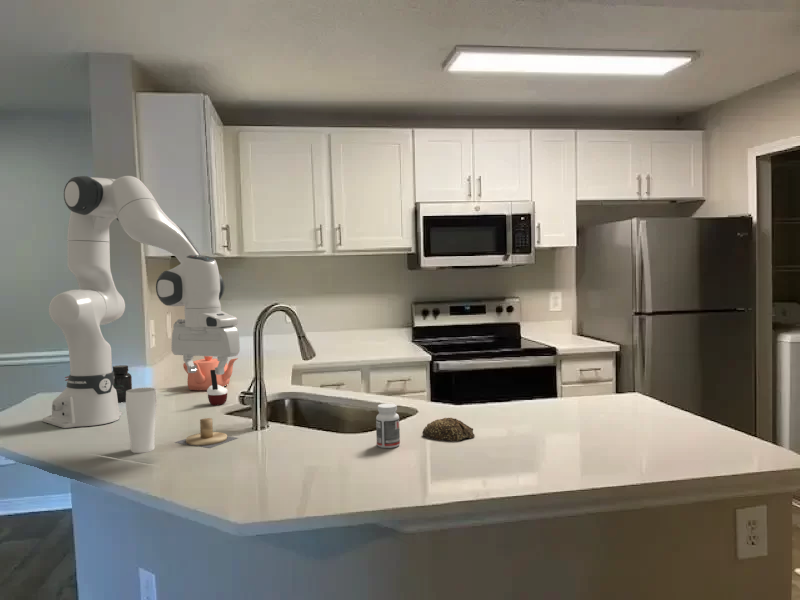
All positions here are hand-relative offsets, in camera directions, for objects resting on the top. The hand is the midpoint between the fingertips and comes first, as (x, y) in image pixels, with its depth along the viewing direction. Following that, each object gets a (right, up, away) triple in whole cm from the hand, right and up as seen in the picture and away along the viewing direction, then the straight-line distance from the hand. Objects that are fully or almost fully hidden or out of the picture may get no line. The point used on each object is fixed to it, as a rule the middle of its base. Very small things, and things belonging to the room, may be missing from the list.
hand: (205, 373), depth 158 cm
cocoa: (-11, -16, +47) cm, 51 cm away
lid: (0, -17, +1) cm, 17 cm away
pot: (-22, -15, +78) cm, 82 cm away
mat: (0, -18, +1) cm, 18 cm away
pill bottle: (+46, -17, -5) cm, 50 cm away
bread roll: (+62, -17, +4) cm, 65 cm away
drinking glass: (-13, -18, -7) cm, 23 cm away
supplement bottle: (-46, -16, +55) cm, 74 cm away
